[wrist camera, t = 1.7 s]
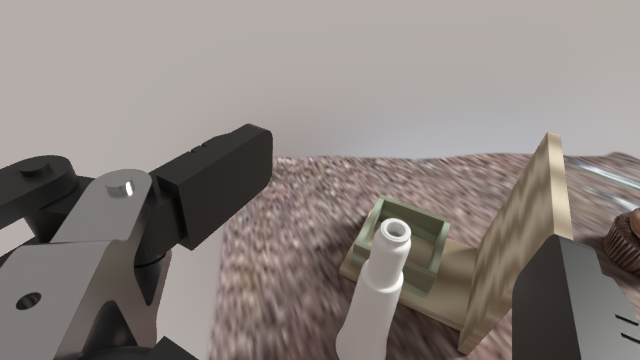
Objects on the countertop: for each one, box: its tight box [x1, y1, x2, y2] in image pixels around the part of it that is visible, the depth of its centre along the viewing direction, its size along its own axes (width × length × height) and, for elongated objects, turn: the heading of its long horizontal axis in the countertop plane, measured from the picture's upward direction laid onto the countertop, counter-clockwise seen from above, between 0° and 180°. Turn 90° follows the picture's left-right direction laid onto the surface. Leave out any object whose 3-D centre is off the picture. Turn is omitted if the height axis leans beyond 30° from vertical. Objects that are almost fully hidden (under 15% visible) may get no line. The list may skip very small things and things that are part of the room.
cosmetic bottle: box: [336, 218, 411, 360], centre depth 30 cm, size 6×6×22 cm
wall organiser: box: [339, 132, 573, 356], centre depth 38 cm, size 16×18×22 cm
